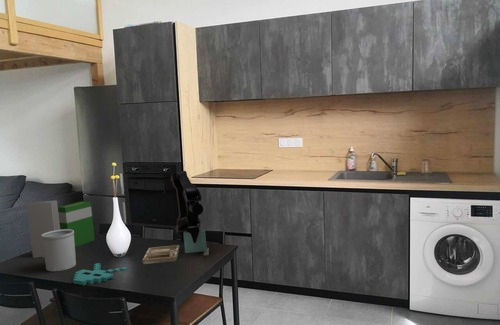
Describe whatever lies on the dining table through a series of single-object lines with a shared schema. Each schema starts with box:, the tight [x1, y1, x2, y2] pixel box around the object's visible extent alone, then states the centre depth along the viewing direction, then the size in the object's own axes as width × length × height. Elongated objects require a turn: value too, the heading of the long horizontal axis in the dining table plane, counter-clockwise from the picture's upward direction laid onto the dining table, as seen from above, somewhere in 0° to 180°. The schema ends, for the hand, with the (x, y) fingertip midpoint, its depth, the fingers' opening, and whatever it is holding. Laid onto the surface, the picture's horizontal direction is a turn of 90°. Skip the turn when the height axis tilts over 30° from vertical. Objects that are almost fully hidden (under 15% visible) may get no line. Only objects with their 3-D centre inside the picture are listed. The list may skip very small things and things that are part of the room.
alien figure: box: [72, 262, 129, 286], centre depth 194 cm, size 20×2×20 cm
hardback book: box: [57, 200, 96, 248], centre depth 251 cm, size 18×7×24 cm, turn 150°
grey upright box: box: [26, 200, 60, 259], centre depth 230 cm, size 14×6×30 cm, turn 84°
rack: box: [142, 244, 181, 265], centre depth 213 cm, size 20×16×3 cm
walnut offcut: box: [148, 253, 170, 259], centre depth 208 cm, size 4×10×2 cm, turn 100°
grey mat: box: [202, 247, 210, 256], centre depth 218 cm, size 11×13×1 cm
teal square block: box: [183, 229, 208, 254], centre depth 217 cm, size 3×11×11 cm, turn 95°
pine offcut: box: [152, 249, 170, 256], centre depth 208 cm, size 4×8×2 cm, turn 91°
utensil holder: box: [41, 229, 77, 272], centre depth 210 cm, size 15×15×18 cm
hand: (195, 241), depth 217 cm, fingers open, 6 cm apart
